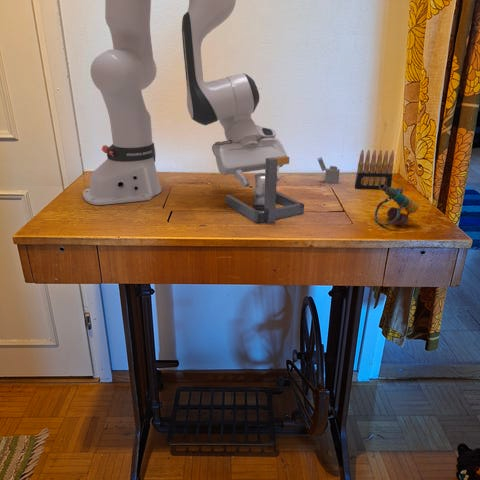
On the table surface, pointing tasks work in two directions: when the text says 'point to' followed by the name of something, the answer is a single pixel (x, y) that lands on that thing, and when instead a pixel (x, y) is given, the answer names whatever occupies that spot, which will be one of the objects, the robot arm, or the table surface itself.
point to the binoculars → (402, 202)
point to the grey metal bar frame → (269, 198)
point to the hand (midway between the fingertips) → (262, 183)
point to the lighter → (329, 172)
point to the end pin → (259, 192)
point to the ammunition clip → (374, 171)
